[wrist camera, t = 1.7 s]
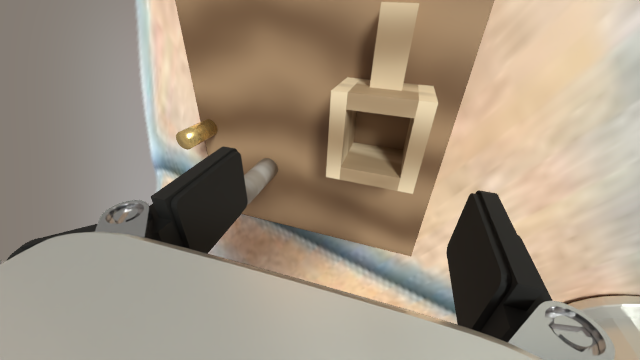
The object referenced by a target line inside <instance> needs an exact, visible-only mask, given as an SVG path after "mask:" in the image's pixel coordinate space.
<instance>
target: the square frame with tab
mask: <svg viewBox="0 0 640 360" xmlns="http://www.w3.org/2000/svg"><path fill="white" fill-rule="evenodd" d="M418 8H419V3H398V2H381V7H380V15H379V22H378V29H377V37H376V44H375V51H374V59H373V66H372V73H371V80H369V79H359V78H349V77H347V78H346V79H345V80H343V81H342V82H341V83H340V84H339V85H337V86H336V87H335V88H334V89H332V90H331V101H330V118H329V134H328V151H327V167H326V177H329V178H334V179H339V180H344V181H349V182H355V183H360V184H365V185H370V186H375V187H380V188H385V189H390V190H395V191H400V192H406V193H411V194H413V192H414V188H415V184H416V181H417V177H418V174H419V170H420V167H421V163H422V159H423V156H424V152H425V149H426V145H427V141H428V138H429V134H430V131H431V127H432V124H433V120H434V116H435V113H436V109H437V106H438V100H437V97H436V93H435V89H434V86H428V85H418V84H408V83H403V82H404V77H405V72H406V67H407V62H408V57H409V52H410V48H411V43H412V38H413V33H414V28H415V23H416V18H417V13H418ZM357 111H362V112H369V113H377V114H385V115H392V116H400V117H408V118H410V122H409V127H408V131H407V135H406V140H405V144H404V148H403V150H398V149H392V148H385V147H379V146H373V145H367V144H360V143H354V142H353V141H354V133H355V124H356V115H357Z"/></svg>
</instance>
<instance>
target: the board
mask: <svg viewBox="0 0 640 360" xmlns="http://www.w3.org/2000/svg"><path fill="white" fill-rule="evenodd" d="M175 2H176V6H177V11H178V16H179V21H180V25H181V30H182V35H183V40H184V44H185V49H186V54H187V59H188V63H189V68H190V73H191V78H192V82H193V87H194V92H195V97H196V102H197V106H198V111H199V116H200V121H201V122H202V121H204V120H206V119H210V120H212V121H213V122H214V123H215V124H216V126H217V129H218V131H217V133H216V134H215V135H214V136H212V137H210V138H208V139H207V140H205V144H206V149H207V154H208V156H209V155H211V154H212V153H214V152H215V151H216V150H218V149H219V148H221V147H223V146H224V147H230V148H235V149H237V151H238V152H239V153H240V154H241V158H242V165H243V172H244V179H245V186H246V193H247V200H248V203H247V207H246V209H245V210H244V211H243V212H242V213H241V214H244V215H248V216H252V217H256V218H260V219H264V220H268V221H272V222H276V223H280V224H284V225H288V226H292V227H296V228H300V229H304V230H308V231H312V232H316V233H320V234H324V235H328V236H332V237H336V238H340V239H344V240H348V241H352V242H356V243H360V244H364V245H368V246H372V247H376V248H380V249H384V250H388V251H392V252H396V253H400V254H404V255H408V256H411V255H412V252H413V248H414V245H415V242H416V239H417V236H418V233H419V230H420V227H421V224H422V221H423V218H424V215H425V212H426V209H427V206H428V202H429V199H430V196H431V193H432V190H433V187H434V184H435V181H436V178H437V175H438V172H439V169H440V166H441V163H442V159H443V156H444V153H445V150H446V147H447V144H448V141H449V138H450V135H451V132H452V129H453V126H454V123H455V120H456V117H457V113H458V110H459V107H460V104H461V101H462V98H463V95H464V92H465V89H466V86H467V83H468V80H469V77H470V74H471V71H472V67H473V64H474V61H475V58H476V55H477V52H478V49H479V46H480V43H481V40H482V37H483V34H484V31H485V28H486V25H487V21H488V18H489V15H490V12H491V9H492V6H493V3H494V0H175ZM381 2H398V3H419V8H418V13H417V18H416V23H415V28H414V33H413V38H412V43H411V48H410V52H409V57H408V62H407V67H406V72H405V77H404V82H403V83H408V84H418V85H428V86H434V89H435V93H436V97H437V100H438V106H437V109H436V113H435V116H434V120H433V124H432V127H431V131H430V134H429V138H428V141H427V145H426V149H425V152H424V156H423V159H422V163H421V167H420V170H419V174H418V177H417V181H416V184H415V188H414V192H413V194H411V193H406V192H400V191H395V190H390V189H385V188H380V187H375V186H370V185H365V184H360V183H355V182H349V181H344V180H339V179H334V178H329V177H326V167H327V151H328V134H329V118H330V101H331V90H332V89H334V88H335V87H336V86H337V85H339V84H340V83H341V82H342V81H343V80H345V79H346V78H347V77H349V78H359V79H369V80H371V73H372V66H373V59H374V51H375V44H376V37H377V29H378V22H379V15H380V7H381ZM409 122H410V118H408V117H400V116H392V115H385V114H377V113H369V112H362V111H357V115H356V124H355V133H354V141H353V142H354V143H360V144H367V145H373V146H379V147H385V148H392V149H398V150H403V148H404V144H405V140H406V135H407V131H408V127H409Z"/></svg>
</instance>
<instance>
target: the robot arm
mask: <svg viewBox="0 0 640 360" xmlns="http://www.w3.org/2000/svg"><path fill="white" fill-rule="evenodd" d="M151 199H152V202H153V204H152V205H150V206H149V205H148V204H147V203H146V202H144V201H141V200H132V201H126V202H122V203H119V204H117V205H115V206H113V207H111V208H109V209H108V210H106V211H105V212H104V213H103V214H102V216H101V217H100V219H99V222H98V224H95V225H91V226H87V227H83V228H79V229H75V230H71V231H67V232H63V233H59V234H55V235H51V236H47V237H43V238H38V239H34V240H31V241H29V242H27V243H25V244H24V245H22V246H21V247H20V248H19V249H17V250H16V251H15V252H14V253H12V254H11V255H10V257H9V258H8V259H7V261H6V262H3V261H2V260H0V360H640V296H625V295H624V296H603V297H596V298H588V299H584V300H580V301H576V302H572V303H570V304H565V303H562V302H557V301H552V299H551V297H550V295H549V293H548V291H547V289H546V287H545V285H544V283H543V281H542V279H541V277H540V275H539V273H538V271H537V269H536V267H535V265H534V263H533V261H532V259H531V257H530V255H529V253H528V251H527V249H526V247H525V245H524V243H523V241H522V239H521V238H520V236H519V235H517V233H516V231H515V229H514V227H513V225H512V223H511V221H510V219H509V217H508V215H507V213H506V211H505V209H504V207H503V205H502V203H501V201H500V199H499V197H498V195H497V194H496V193H490V192H485V191H477V192H476V193H475V194H473V193H471V194H470V195H469V197H468V200H467V202H466V204H465V207H464V209H463V211H462V214H461V216H460V218H459V220H458V223H457V225H456V227H455V230H454V232H453V234H452V237H451V239H450V241H449V244H448V247H447V259H448V265H449V272H450V278H451V284H452V291H453V297H454V304H455V310H456V316H457V323H458V325H457V324H454V323H450V322H447V321H443V320H440V319H437V318H433V317H430V316H427V315H423V314H420V313H417V312H413V311H410V310H407V309H403V308H400V307H396V306H393V305H389V304H386V303H382V302H379V301H375V300H372V299H368V298H365V297H361V296H358V295H354V294H351V293H347V292H343V291H340V290H336V289H333V288H329V287H326V286H322V285H319V284H315V283H311V282H308V281H304V280H301V279H297V278H294V277H290V276H286V275H283V274H279V273H276V272H272V271H268V270H265V269H261V268H258V267H254V266H250V265H247V264H243V263H239V262H236V261H232V260H228V259H225V258H221V257H217V256H214V255H210V254H208V252H209V251H210V250H211V249H212V248H213V247H214V245H215V244H216V243H217V242H218V241H219V239H220V238H221V237H222V236H223V235H224V234H225V232H226V231H227V230H228V229H229V228H230V226H231V225H232V224H233V223H234V222H235V221H236V219H237V218H238V217H239V216H240V215H241V213H242V212H243V211H244V210H245V209H246V207H247V203H248V200H247V193H246V186H245V179H244V172H243V165H242V158H241V154H240V153H239V152H238V151H237V149H235V148H230V147H224V146H223V147H221V148H219V149H218V150H216V151H215V152H214V153H212V154H211V155H209V156H208V157H207V158H205V159H204V160H202V161H201V162H199V163H198V164H197V165H195V166H194V167H192V168H191V169H189V170H188V171H187V172H185V173H184V174H182V175H181V176H179V177H178V178H177V179H175V180H174V181H172V182H171V183H169V184H168V185H167V186H165V187H164V188H162V189H161V190H159V191H158V192H157V193H155V194H154V195H152V196H151Z"/></svg>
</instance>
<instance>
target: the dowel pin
mask: <svg viewBox="0 0 640 360" xmlns="http://www.w3.org/2000/svg"><path fill="white" fill-rule="evenodd" d="M217 131H218V129H217V126H216V124H215V123H214V122H213V121H212V120H210V119H206V120H204V121H202V122H200V123H198V124H195V125H193V126H191V127H189V128H187V129H185V130H183V131H180V132H178V133H177V135H176V139H177V142H178V143H179V145H180V146H181V147H182V148H184V149H191V148H192V147H194V146H196V145H198V144H199V143H201V142H203V141H205V140H207V139H208V138H210V137H212V136H214V135H215V134H216V133H217Z"/></svg>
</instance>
